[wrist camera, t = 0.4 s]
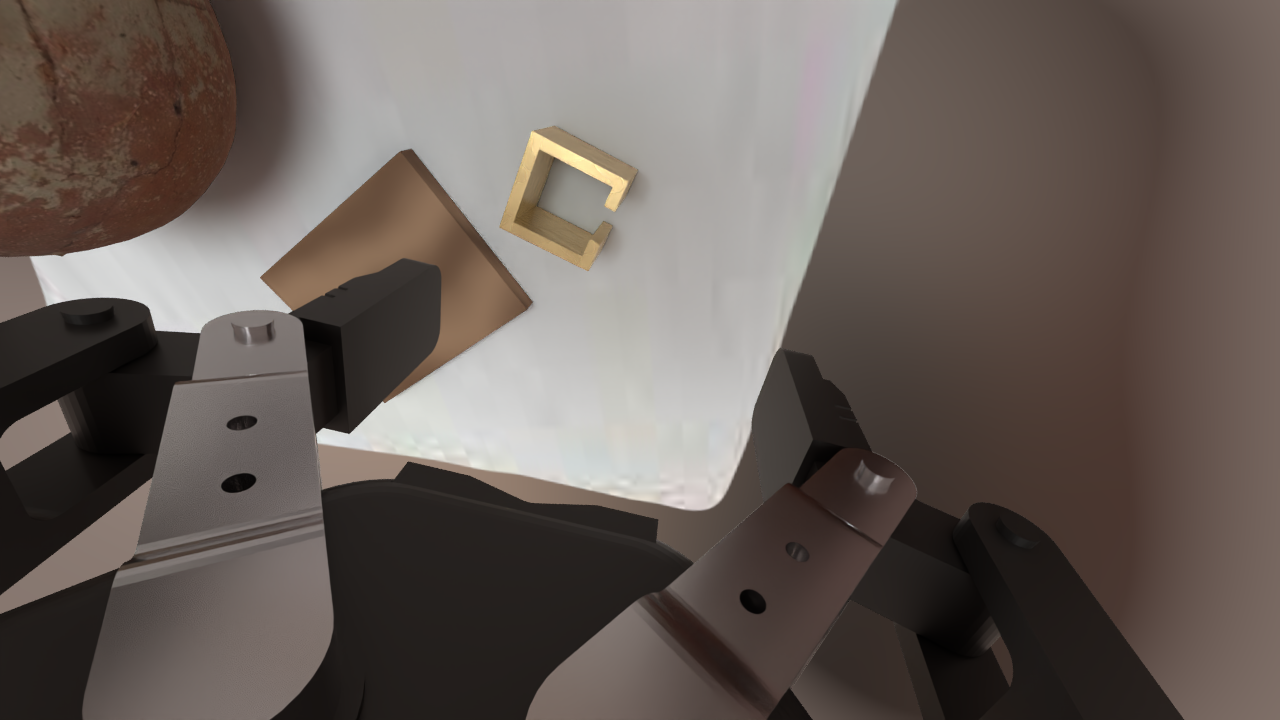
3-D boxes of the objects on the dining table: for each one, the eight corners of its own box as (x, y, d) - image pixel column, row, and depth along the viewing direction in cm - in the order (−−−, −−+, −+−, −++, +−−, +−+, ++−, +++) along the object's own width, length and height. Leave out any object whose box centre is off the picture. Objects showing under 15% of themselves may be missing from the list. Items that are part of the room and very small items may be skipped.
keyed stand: (274, 271, 40) (202, 301, 34) (411, 149, 34) (353, 160, 29) (394, 393, 44) (348, 438, 38) (532, 302, 39) (503, 338, 33)
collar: (524, 210, 36) (499, 227, 31) (554, 125, 33) (532, 130, 28) (601, 249, 36) (588, 271, 32) (638, 169, 33) (628, 181, 29)
